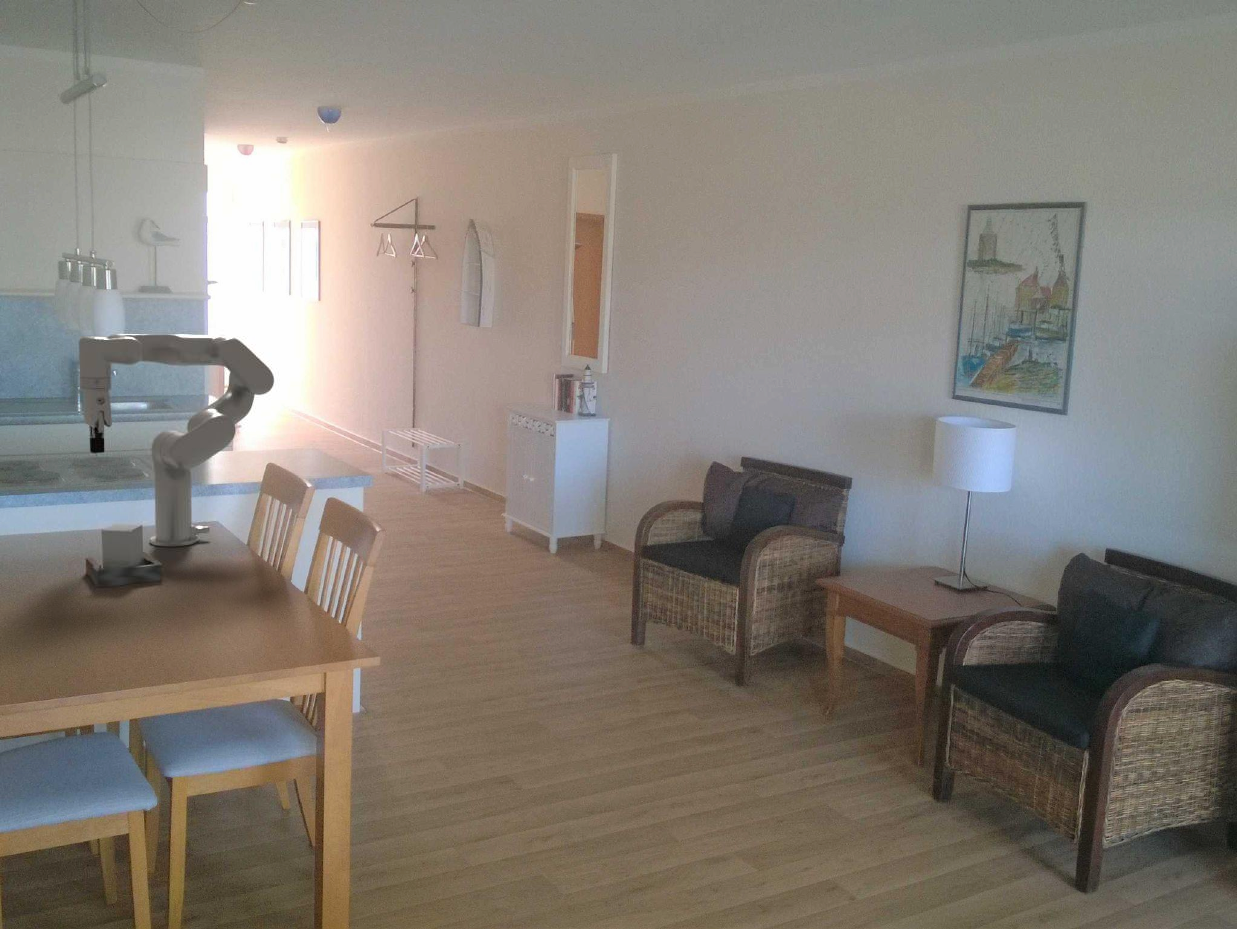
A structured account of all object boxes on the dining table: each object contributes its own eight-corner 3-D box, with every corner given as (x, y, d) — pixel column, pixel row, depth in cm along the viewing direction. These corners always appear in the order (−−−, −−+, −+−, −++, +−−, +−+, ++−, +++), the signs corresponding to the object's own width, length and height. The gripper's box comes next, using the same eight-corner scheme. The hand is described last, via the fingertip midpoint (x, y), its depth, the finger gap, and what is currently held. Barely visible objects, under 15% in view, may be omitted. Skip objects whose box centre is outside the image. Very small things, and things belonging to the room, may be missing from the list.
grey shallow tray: (146, 566, 292) (146, 551, 291) (162, 580, 281) (162, 564, 280) (84, 573, 283) (83, 558, 282) (98, 587, 272) (97, 571, 271)
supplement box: (144, 573, 286) (143, 524, 284) (131, 580, 279) (130, 531, 277) (115, 571, 286) (114, 522, 284) (101, 579, 279) (100, 529, 277)
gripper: (118, 386, 293) (119, 456, 296) (103, 380, 304) (105, 447, 307) (87, 387, 288) (88, 457, 291) (73, 380, 300) (75, 448, 303)
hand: (97, 452), depth 299 cm, fingers closed
